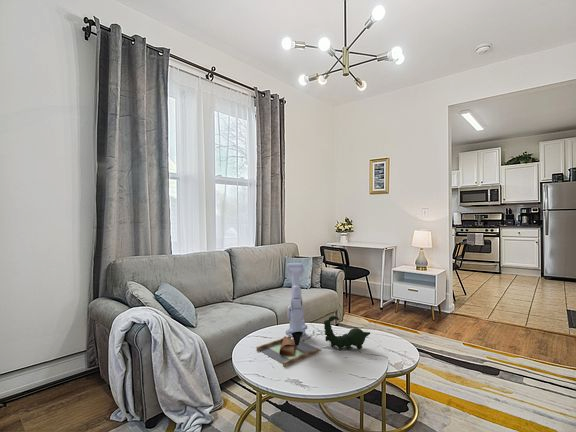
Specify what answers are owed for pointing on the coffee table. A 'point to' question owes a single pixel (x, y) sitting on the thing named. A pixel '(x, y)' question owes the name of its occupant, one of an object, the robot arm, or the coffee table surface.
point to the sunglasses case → (287, 347)
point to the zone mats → (275, 354)
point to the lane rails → (292, 358)
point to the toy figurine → (344, 336)
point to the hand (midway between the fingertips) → (296, 344)
